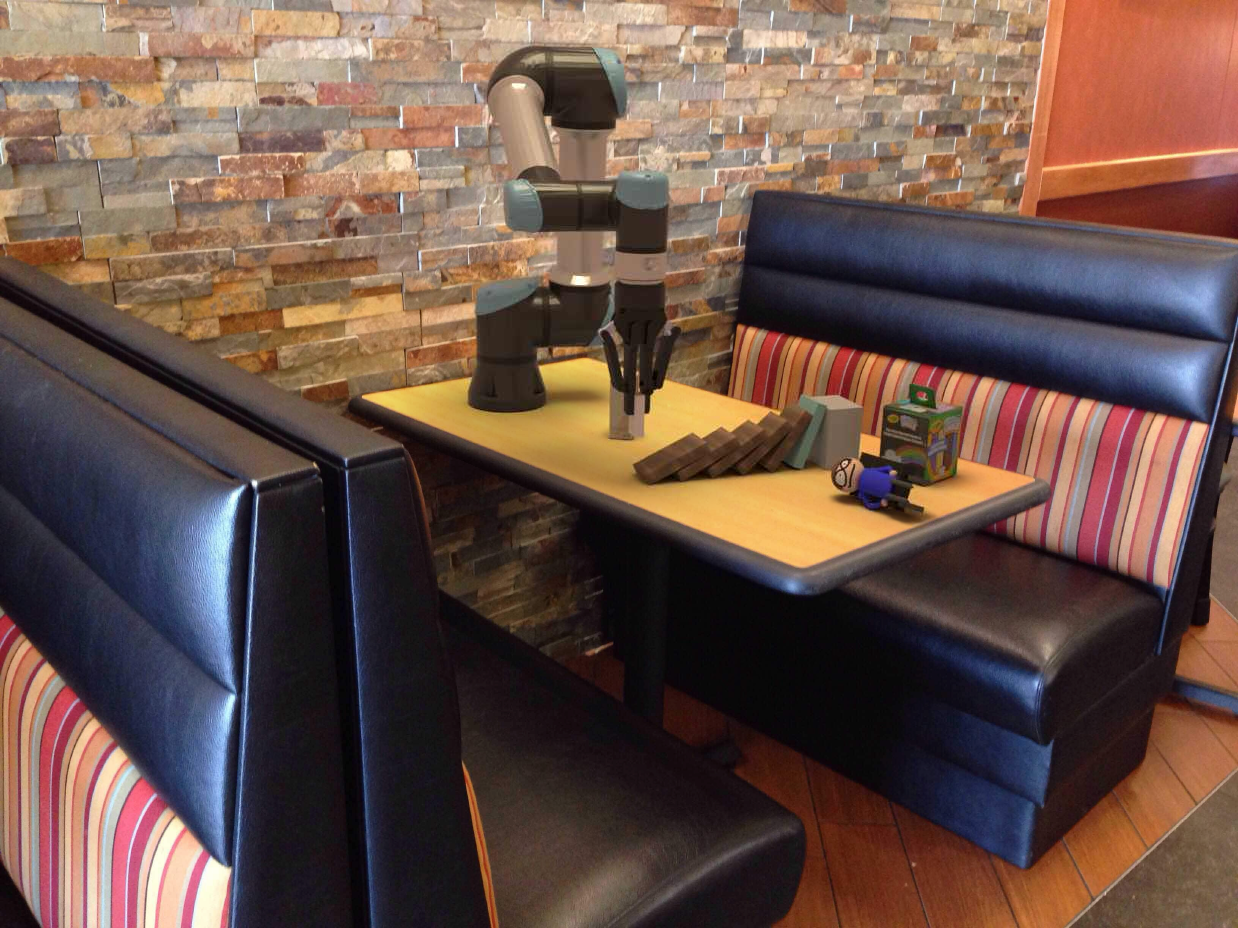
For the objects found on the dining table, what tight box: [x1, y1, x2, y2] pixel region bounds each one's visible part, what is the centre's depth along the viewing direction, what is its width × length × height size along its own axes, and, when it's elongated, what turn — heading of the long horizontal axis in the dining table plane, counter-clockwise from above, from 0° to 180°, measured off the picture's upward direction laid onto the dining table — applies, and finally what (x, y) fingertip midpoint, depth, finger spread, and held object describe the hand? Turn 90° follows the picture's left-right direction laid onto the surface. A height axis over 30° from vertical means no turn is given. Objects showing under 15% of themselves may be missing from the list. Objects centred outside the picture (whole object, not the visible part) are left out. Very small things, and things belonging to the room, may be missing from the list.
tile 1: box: [632, 432, 711, 486], centre depth 172 cm, size 2×6×11 cm
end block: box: [806, 394, 864, 470], centre depth 180 cm, size 8×6×10 cm
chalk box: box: [878, 382, 964, 487], centre depth 174 cm, size 9×9×15 cm
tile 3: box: [701, 419, 769, 479], centre depth 175 cm, size 2×6×11 cm
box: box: [608, 370, 640, 441], centre depth 191 cm, size 5×4×11 cm
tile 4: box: [729, 410, 793, 476], centre depth 176 cm, size 2×6×11 cm
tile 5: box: [757, 401, 813, 473], centre depth 177 cm, size 2×6×11 cm
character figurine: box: [830, 451, 932, 514], centre depth 161 cm, size 8×7×15 cm
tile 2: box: [671, 426, 741, 482], centre depth 173 cm, size 2×6×11 cm
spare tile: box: [782, 393, 827, 470], centre depth 178 cm, size 2×6×11 cm, turn 20°
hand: (636, 434), depth 168 cm, fingers closed
